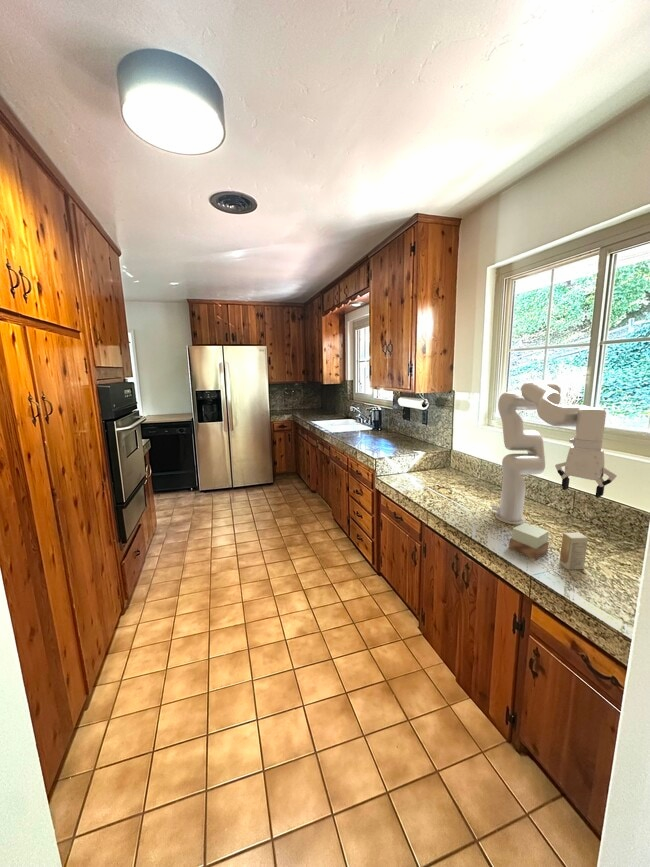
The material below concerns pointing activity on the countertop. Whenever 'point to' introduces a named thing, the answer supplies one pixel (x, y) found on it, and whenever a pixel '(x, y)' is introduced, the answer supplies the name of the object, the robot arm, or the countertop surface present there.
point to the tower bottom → (528, 549)
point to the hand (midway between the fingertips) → (581, 493)
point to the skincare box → (573, 550)
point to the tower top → (530, 535)
